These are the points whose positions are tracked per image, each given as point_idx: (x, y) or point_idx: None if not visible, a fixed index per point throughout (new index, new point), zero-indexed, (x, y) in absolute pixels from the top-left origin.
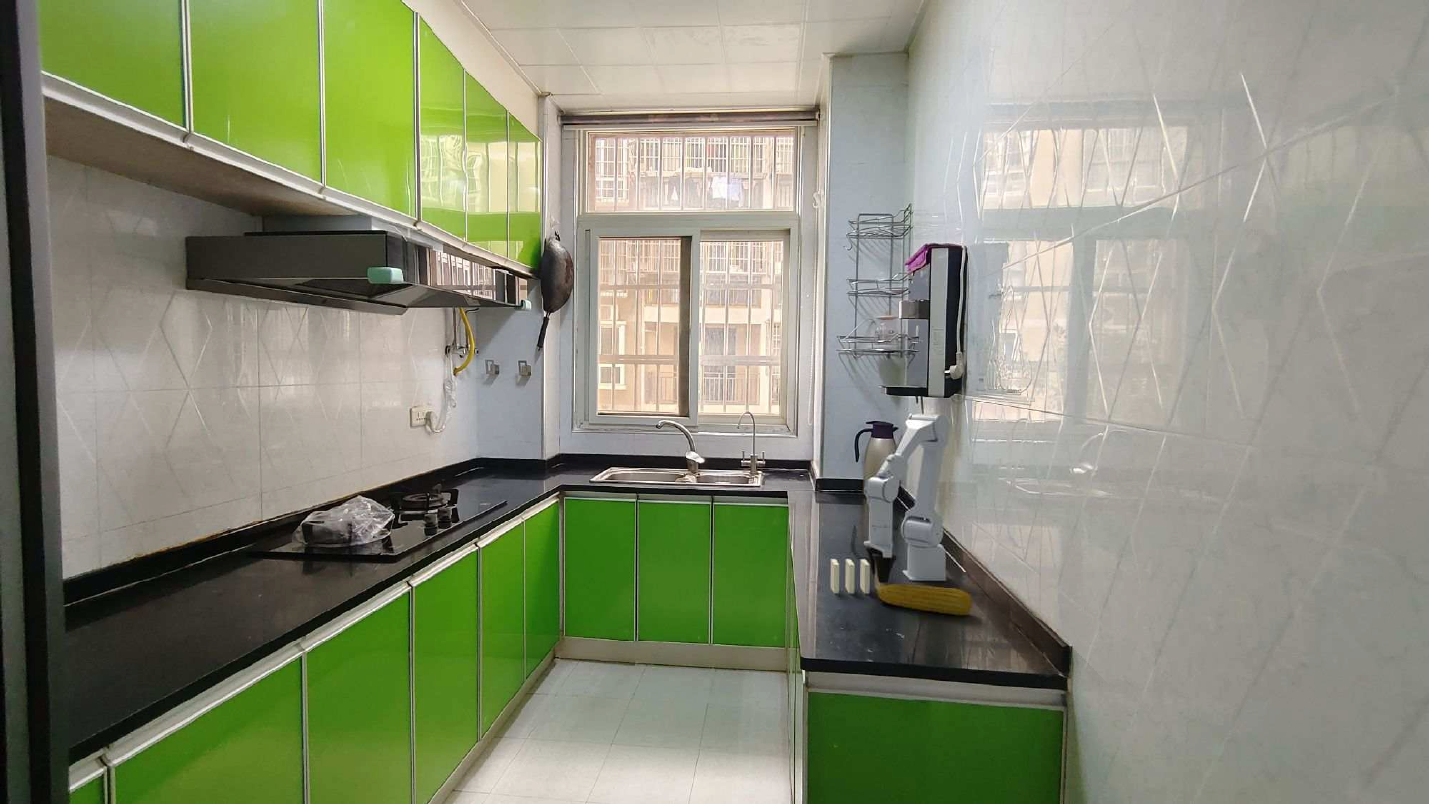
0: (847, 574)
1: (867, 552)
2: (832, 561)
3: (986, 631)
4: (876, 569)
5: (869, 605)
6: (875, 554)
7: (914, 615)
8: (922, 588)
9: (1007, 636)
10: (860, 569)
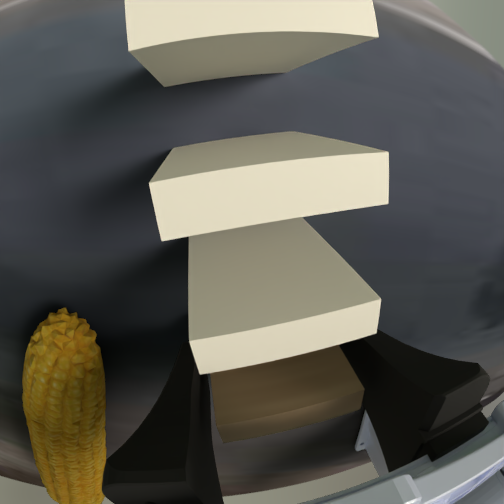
0: (253, 146)
1: (443, 363)
2: None
3: (16, 460)
4: (306, 359)
5: (20, 252)
6: (161, 494)
7: (9, 380)
8: (49, 466)
9: (17, 471)
10: (339, 258)
